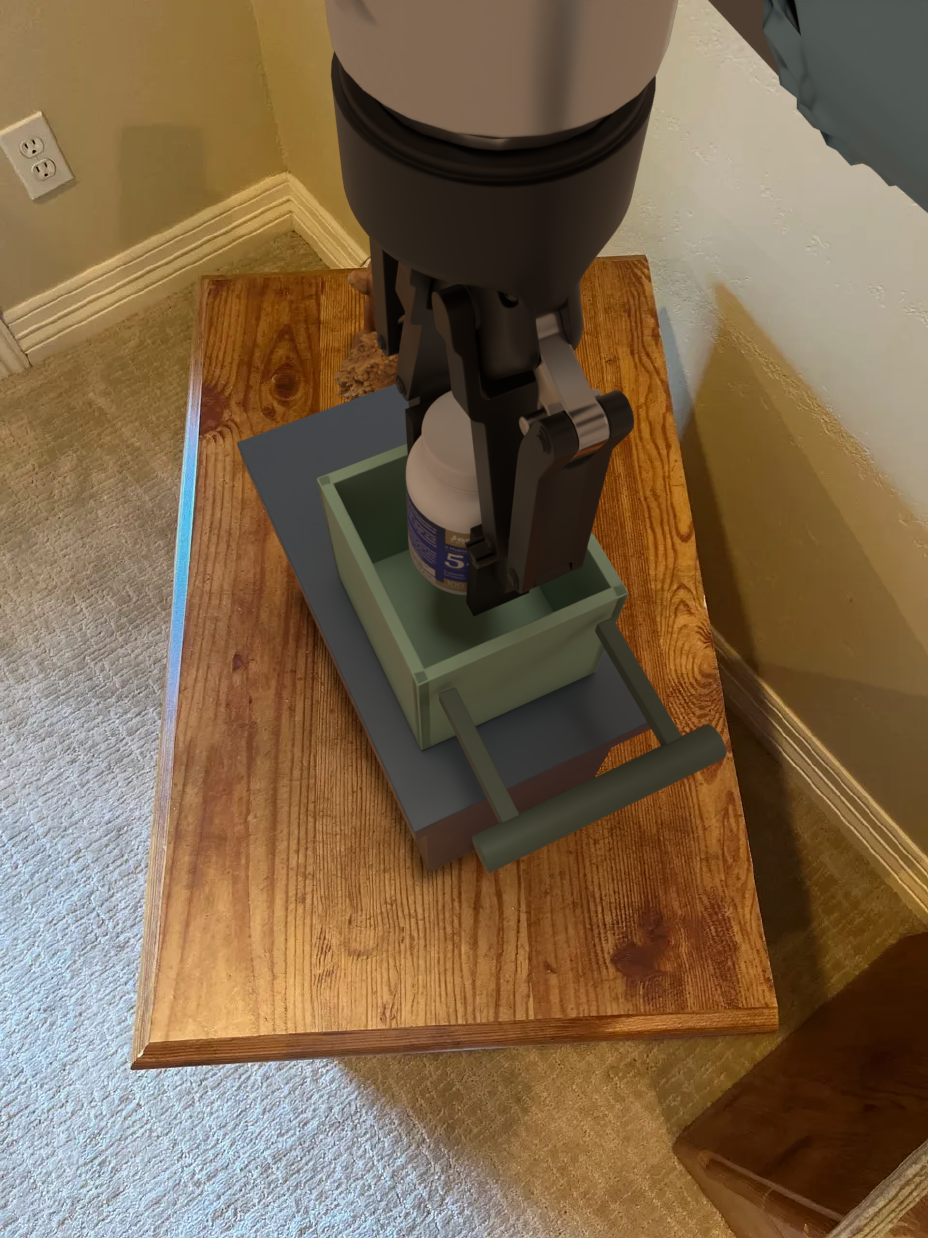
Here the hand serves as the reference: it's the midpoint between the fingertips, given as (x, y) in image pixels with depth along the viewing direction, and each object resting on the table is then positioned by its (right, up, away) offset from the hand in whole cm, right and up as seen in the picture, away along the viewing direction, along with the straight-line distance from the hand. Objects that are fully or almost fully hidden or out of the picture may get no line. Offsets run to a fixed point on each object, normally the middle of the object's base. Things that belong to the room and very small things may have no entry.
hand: (468, 542), depth 43 cm
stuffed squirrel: (-5, +16, +39) cm, 42 cm away
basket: (+1, -7, +6) cm, 9 cm away
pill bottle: (0, 0, 0) cm, 0 cm away
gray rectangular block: (-2, -9, +28) cm, 29 cm away
